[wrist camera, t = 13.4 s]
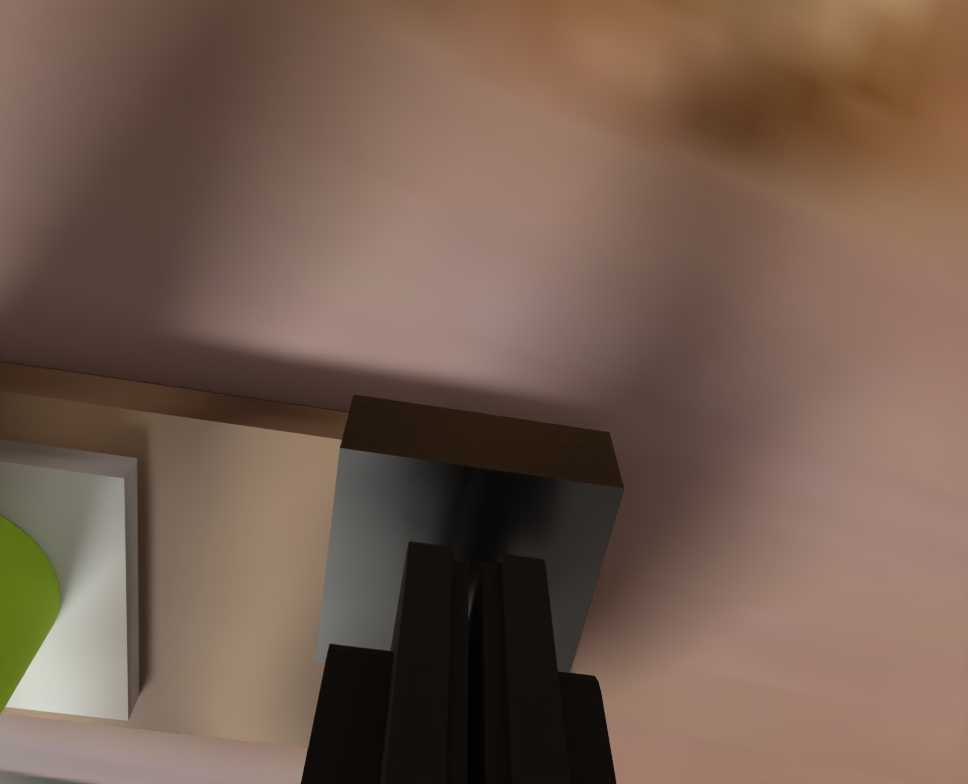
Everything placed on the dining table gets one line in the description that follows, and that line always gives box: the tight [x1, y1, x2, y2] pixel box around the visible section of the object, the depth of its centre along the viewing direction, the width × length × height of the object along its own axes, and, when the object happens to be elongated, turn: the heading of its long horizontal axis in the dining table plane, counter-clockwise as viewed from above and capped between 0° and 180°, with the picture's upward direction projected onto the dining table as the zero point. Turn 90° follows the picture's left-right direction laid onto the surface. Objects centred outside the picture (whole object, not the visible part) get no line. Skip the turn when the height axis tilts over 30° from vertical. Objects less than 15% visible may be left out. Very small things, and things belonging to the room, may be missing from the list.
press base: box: [0, 362, 349, 748], centre depth 21 cm, size 24×12×14 cm, turn 80°
